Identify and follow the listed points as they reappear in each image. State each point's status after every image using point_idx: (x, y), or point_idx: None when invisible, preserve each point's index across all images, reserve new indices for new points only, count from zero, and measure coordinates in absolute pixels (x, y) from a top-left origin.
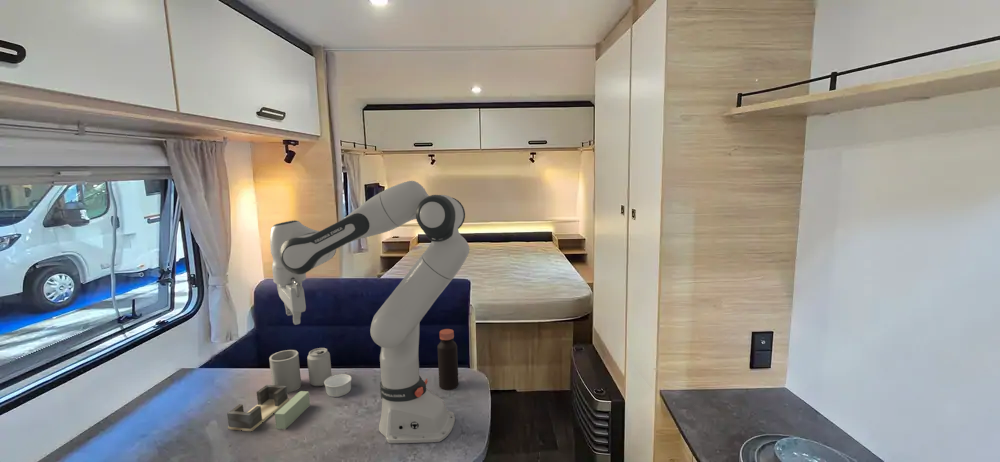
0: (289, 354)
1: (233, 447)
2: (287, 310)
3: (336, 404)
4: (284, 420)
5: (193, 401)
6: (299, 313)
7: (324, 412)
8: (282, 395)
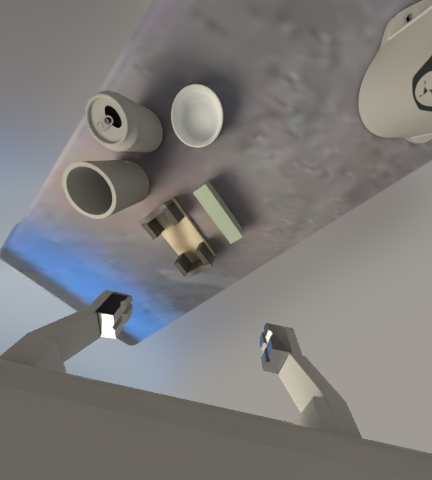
0: (75, 173)
1: (231, 274)
2: (115, 337)
3: (240, 148)
4: (242, 233)
5: (101, 271)
6: (341, 408)
7: (246, 174)
8: (174, 210)
